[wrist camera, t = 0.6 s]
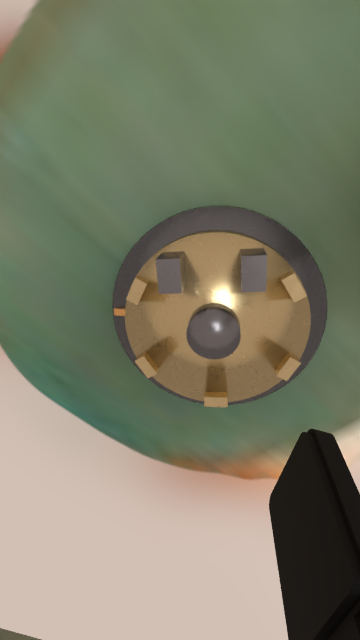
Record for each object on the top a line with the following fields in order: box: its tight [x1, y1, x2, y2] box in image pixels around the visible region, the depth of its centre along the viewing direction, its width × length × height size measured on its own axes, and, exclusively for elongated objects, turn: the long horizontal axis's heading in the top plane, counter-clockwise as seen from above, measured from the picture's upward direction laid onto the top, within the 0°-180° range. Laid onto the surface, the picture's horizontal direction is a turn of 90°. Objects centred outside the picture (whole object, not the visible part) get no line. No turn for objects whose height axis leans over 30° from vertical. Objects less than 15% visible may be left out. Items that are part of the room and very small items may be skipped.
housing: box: [113, 206, 327, 405], centre depth 35 cm, size 22×22×2 cm
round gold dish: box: [125, 230, 311, 407], centre depth 32 cm, size 18×18×5 cm
